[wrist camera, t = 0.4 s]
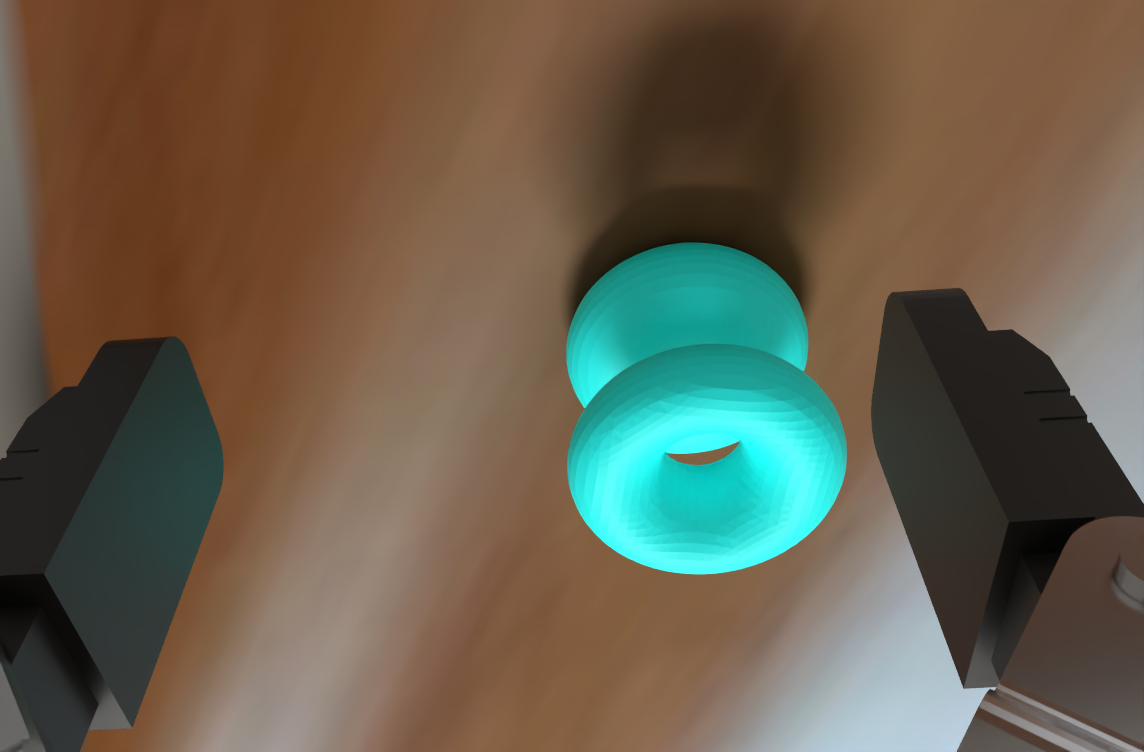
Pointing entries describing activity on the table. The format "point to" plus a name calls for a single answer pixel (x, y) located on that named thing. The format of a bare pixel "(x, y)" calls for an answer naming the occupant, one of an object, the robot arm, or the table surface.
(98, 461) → the robot arm
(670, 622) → the table surface
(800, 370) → the donuts
